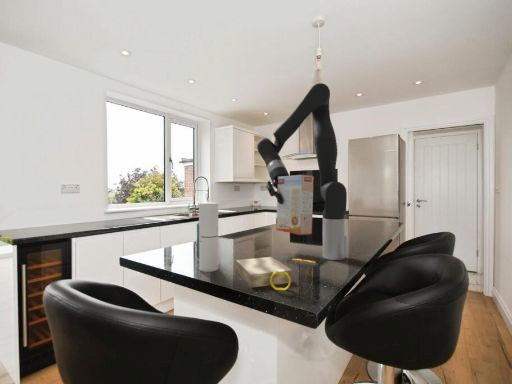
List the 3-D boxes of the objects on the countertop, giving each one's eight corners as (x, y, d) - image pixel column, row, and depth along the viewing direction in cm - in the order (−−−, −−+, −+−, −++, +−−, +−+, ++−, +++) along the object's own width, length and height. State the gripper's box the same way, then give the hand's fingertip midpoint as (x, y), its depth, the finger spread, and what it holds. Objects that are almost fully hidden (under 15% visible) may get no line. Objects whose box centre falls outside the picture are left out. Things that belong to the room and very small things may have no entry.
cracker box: (312, 234, 95) (314, 175, 95) (299, 235, 92) (301, 174, 92) (287, 229, 107) (289, 176, 107) (275, 230, 104) (277, 176, 104)
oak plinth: (271, 267, 104) (271, 256, 104) (292, 282, 87) (292, 270, 87) (236, 270, 99) (236, 260, 99) (251, 287, 82) (250, 274, 82)
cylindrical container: (209, 272, 97) (209, 203, 97) (195, 269, 101) (195, 203, 101) (222, 267, 103) (222, 202, 103) (208, 265, 107) (208, 202, 107)
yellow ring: (270, 291, 80) (269, 271, 80) (271, 288, 83) (270, 269, 83) (290, 291, 79) (289, 271, 79) (291, 288, 82) (289, 268, 82)
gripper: (264, 165, 107) (275, 195, 96) (296, 166, 112) (311, 195, 101) (259, 179, 112) (270, 209, 101) (290, 179, 117) (304, 208, 106)
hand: (290, 202), depth 101 cm, fingers closed on cracker box, 6 cm apart
